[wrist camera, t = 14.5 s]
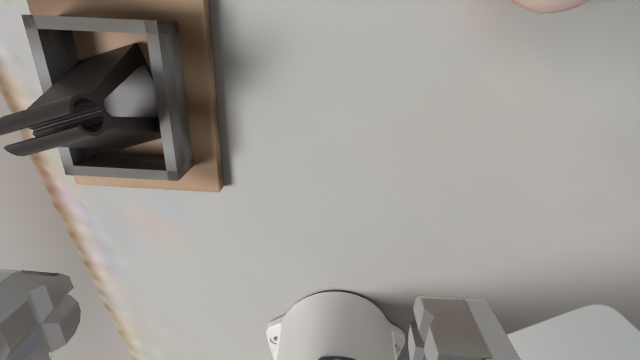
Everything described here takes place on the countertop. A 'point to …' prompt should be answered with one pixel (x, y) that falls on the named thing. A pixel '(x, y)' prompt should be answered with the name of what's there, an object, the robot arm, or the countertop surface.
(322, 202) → the countertop surface
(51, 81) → the socket board
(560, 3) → the decorative fruit
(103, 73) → the phone stand
